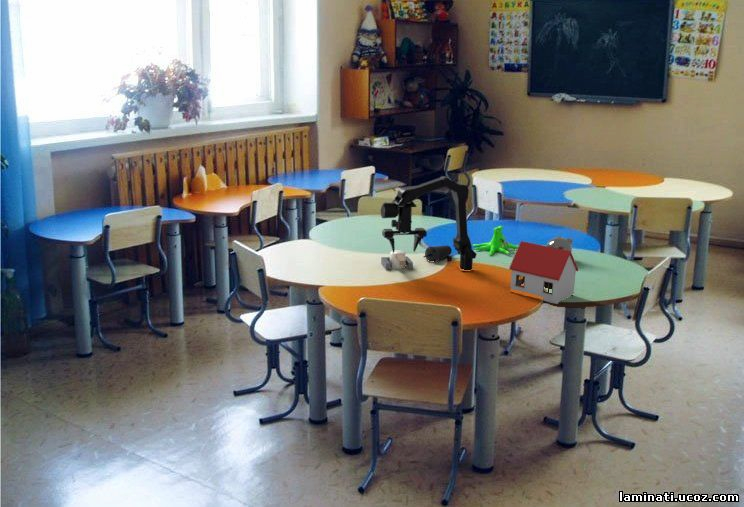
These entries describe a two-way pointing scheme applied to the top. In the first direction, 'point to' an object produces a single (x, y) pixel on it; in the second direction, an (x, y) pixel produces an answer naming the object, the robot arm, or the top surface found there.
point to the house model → (543, 271)
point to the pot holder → (386, 262)
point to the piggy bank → (561, 243)
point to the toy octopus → (496, 243)
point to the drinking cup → (437, 252)
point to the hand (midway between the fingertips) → (403, 251)
